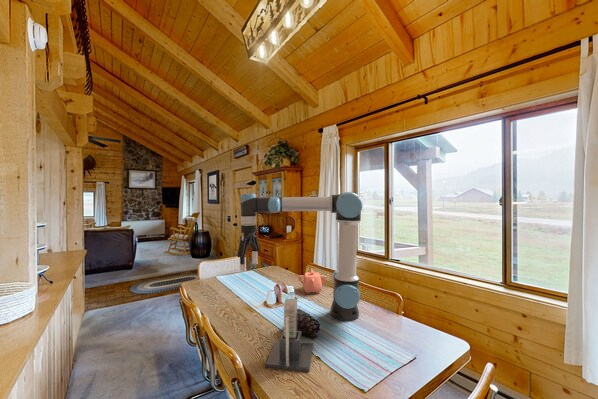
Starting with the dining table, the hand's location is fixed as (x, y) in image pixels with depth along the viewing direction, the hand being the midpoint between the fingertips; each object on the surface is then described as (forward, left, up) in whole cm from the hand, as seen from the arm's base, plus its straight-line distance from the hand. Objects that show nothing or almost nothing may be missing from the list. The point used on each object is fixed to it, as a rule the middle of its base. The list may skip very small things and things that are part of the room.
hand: (249, 267), depth 134 cm
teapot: (-27, -49, -28) cm, 63 cm away
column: (-25, +26, -26) cm, 45 cm away
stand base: (-25, +26, -28) cm, 45 cm away
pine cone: (-28, +6, -28) cm, 40 cm away
